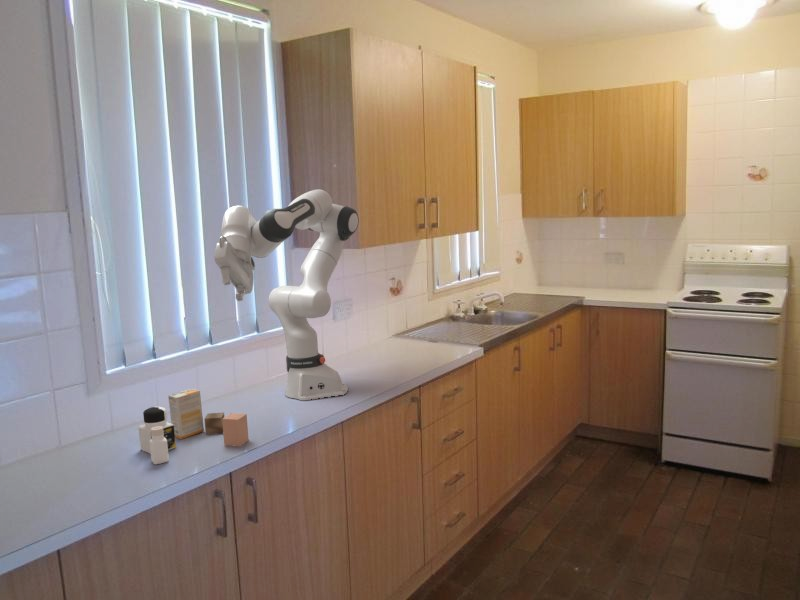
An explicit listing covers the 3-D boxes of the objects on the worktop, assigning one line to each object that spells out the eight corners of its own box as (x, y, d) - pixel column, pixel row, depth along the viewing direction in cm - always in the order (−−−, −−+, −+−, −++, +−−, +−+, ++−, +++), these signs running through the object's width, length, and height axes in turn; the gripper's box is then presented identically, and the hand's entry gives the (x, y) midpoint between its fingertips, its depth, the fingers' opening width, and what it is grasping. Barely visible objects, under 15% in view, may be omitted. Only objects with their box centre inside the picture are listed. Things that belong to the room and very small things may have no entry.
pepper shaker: (166, 457, 180) (162, 424, 178) (169, 462, 176) (166, 428, 175) (150, 461, 178) (147, 427, 176) (154, 465, 174) (150, 431, 173)
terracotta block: (233, 439, 192) (231, 413, 191) (248, 440, 190) (246, 414, 189) (224, 445, 187) (222, 418, 186) (240, 446, 186) (238, 419, 184)
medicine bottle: (153, 455, 182) (148, 414, 180) (140, 450, 186) (136, 409, 184) (176, 447, 187) (172, 407, 185) (163, 442, 192) (159, 403, 190)
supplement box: (195, 428, 203) (191, 387, 201) (204, 431, 200) (200, 390, 198) (171, 436, 196) (167, 394, 194) (180, 439, 193) (176, 397, 191)
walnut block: (225, 427, 202) (223, 412, 202) (222, 433, 198) (221, 417, 197) (208, 429, 202) (207, 413, 201) (205, 434, 197) (204, 418, 196)
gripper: (231, 230, 186) (228, 271, 179) (257, 268, 204) (256, 306, 197) (210, 234, 187) (207, 275, 180) (238, 271, 204) (236, 310, 197)
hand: (232, 292), depth 188 cm, fingers open, 8 cm apart
